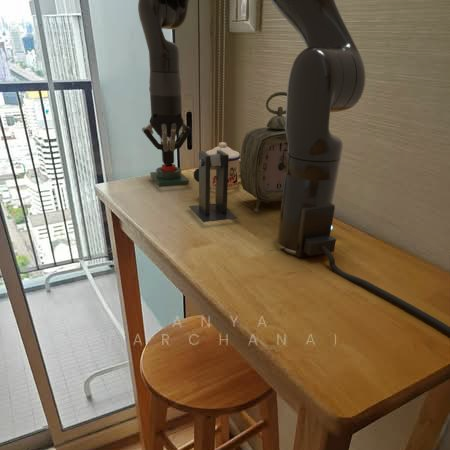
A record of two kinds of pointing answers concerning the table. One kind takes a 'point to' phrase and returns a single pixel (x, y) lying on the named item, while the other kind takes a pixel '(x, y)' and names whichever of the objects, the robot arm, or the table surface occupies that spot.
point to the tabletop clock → (265, 158)
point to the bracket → (220, 207)
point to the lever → (214, 165)
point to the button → (168, 168)
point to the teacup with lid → (232, 166)
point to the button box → (169, 178)
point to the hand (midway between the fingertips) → (168, 165)
